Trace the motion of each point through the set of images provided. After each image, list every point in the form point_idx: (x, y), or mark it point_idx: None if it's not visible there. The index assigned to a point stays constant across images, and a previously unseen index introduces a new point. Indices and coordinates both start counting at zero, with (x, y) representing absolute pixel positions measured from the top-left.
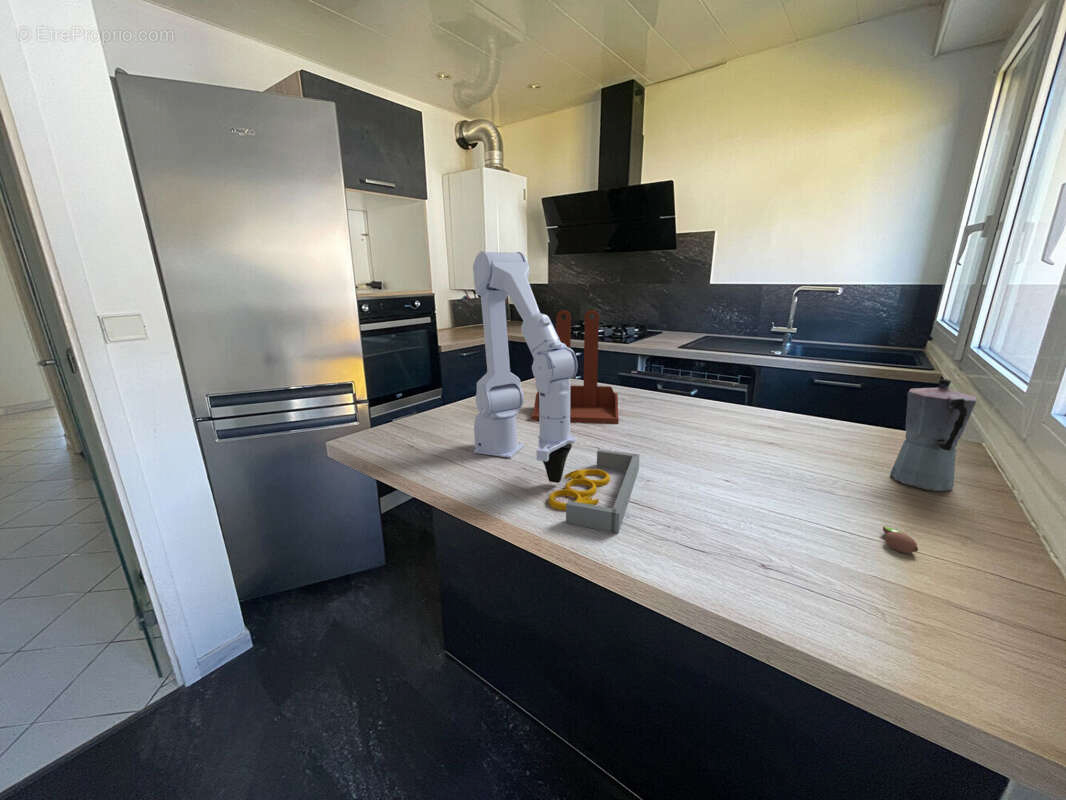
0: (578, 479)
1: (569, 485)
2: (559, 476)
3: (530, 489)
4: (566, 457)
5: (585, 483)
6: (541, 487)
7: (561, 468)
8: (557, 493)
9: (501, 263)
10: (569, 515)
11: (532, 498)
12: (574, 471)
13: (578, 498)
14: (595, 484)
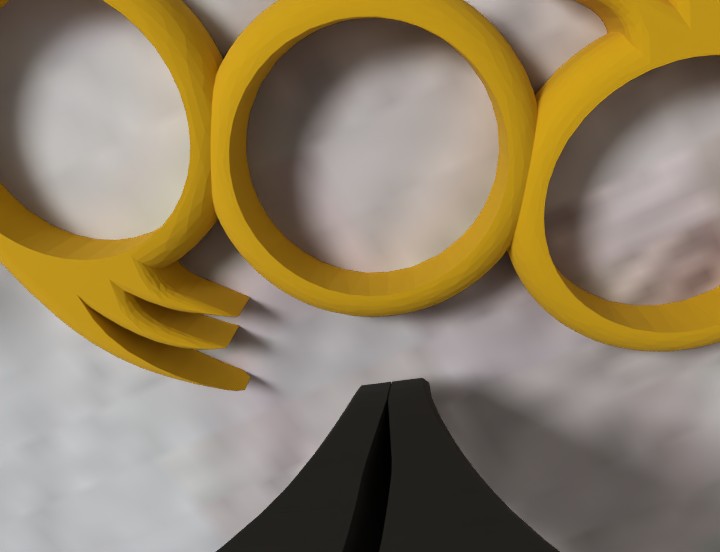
0: (260, 243)
1: (375, 281)
2: (436, 413)
3: (563, 522)
4: (267, 534)
5: (241, 162)
6: (491, 469)
7: (447, 462)
8: (600, 307)
9: None
10: None
11: (704, 453)
12: (128, 348)
13: (693, 46)
14: (212, 47)
